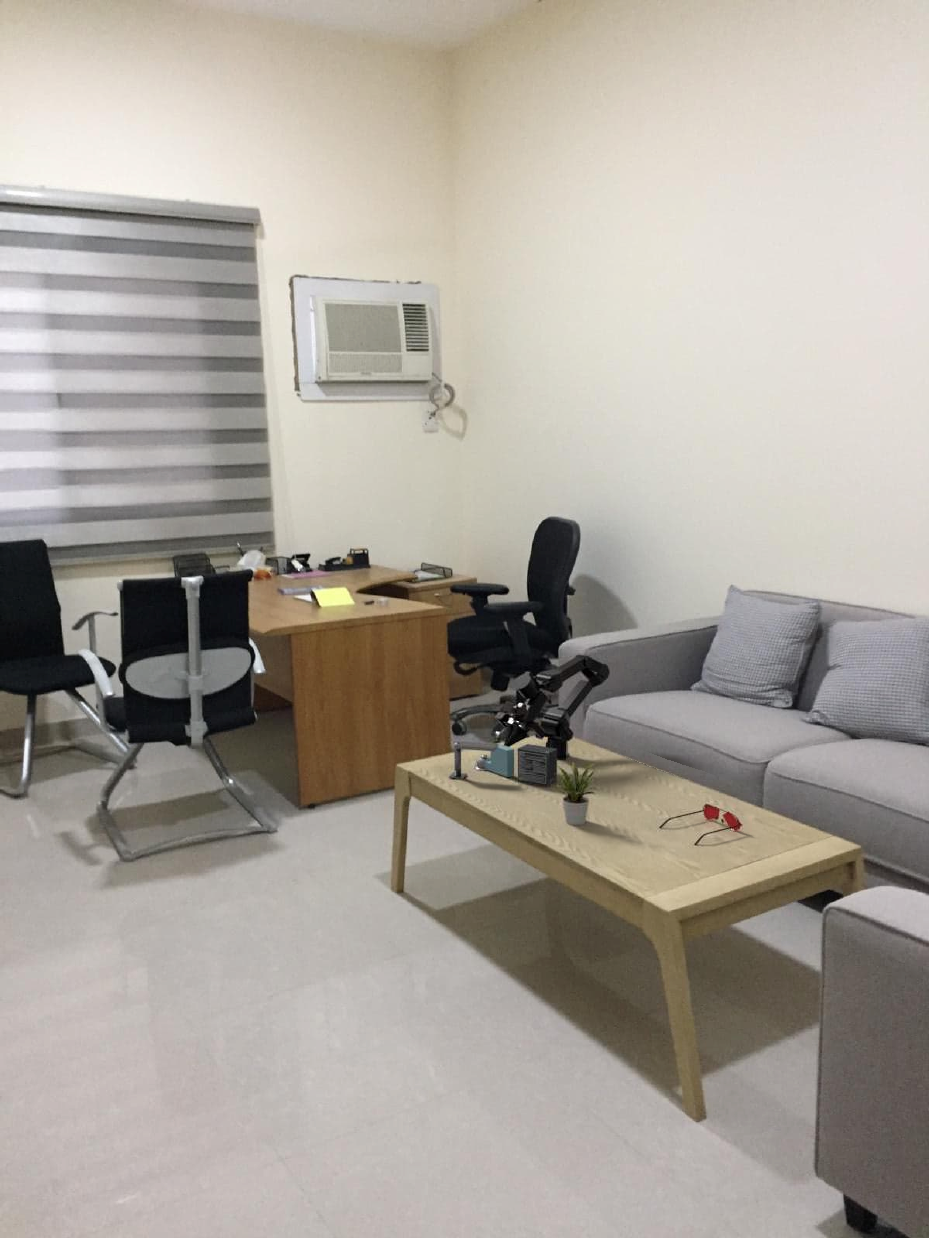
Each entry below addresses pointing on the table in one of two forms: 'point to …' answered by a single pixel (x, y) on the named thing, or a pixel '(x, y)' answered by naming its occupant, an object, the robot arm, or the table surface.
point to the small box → (537, 765)
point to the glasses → (713, 813)
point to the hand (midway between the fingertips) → (505, 747)
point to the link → (499, 761)
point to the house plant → (576, 795)
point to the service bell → (481, 768)
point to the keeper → (468, 746)
